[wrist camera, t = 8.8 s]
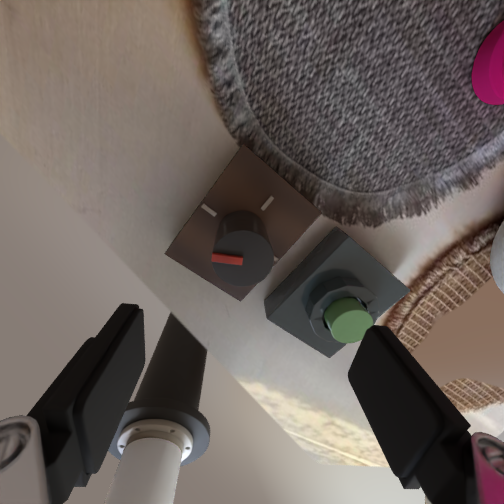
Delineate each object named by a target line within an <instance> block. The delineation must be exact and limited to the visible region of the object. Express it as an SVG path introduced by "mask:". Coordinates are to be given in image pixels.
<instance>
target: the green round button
mask: <svg viewBox="0 0 504 504" xmlns="http://www.w3.org/2000/svg"><path fill="white" fill-rule="evenodd" d="M324 319H325V322H326V324H327V326H328V328H329V330H330V332H331V334H332V336H333V337H334V338H335V339H336V340H337V341H339V342H342V343H354V342H357V341H360V340H362V339H363V337H364V335H365V332H366V330H367V329H368V328H370V327H371V326H372V325H373V319H372V316H371V315H370V314H369V313H368V311H367V310H366V309H365V308H364V306H363V305H362V304H361V302H360V301H358V300H357V299H355V298H351V297H344V298H340V299H337V300H335V301H333V302H332V303H331V304H330V305H329V306H328V307H327V309H326V310H325V313H324Z"/></svg>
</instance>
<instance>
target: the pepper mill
mask: <svg viewBox="0 0 504 504" xmlns="http://www.w3.org/2000/svg"><path fill="white" fill-rule="evenodd" d="M472 86H473V89H474V92H475V94H476V95H477V96H478V98H479V99H480V100H481V101H483V102H485V103H487V104H492V105H500V104H504V21H502V22H501V23H500V24H498V25H497V26H496V27H495V28H494V29H493V30H492V31H491V32H490V34H489V35H488V36H487V37H486V39H485V40H484V42H483V43H482V45H481V47H480V49H479V50H478V53H477V55H476V58H475V60H474V64H473V70H472Z"/></svg>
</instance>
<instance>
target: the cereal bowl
mask: <svg viewBox="0 0 504 504" xmlns="http://www.w3.org/2000/svg"><path fill="white" fill-rule="evenodd" d="M490 265H491V266H490V268H491V270H492V275H493V278H494V280H495V282H496V285H497V286H498V287H499V289H500V290H501V291H502V292H503V293H504V221H503V222H502V224H501V226H500V227H499V230H498V231H497V234H496V235H495V239H494V240H493V245H492V248H491V254H490Z"/></svg>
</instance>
